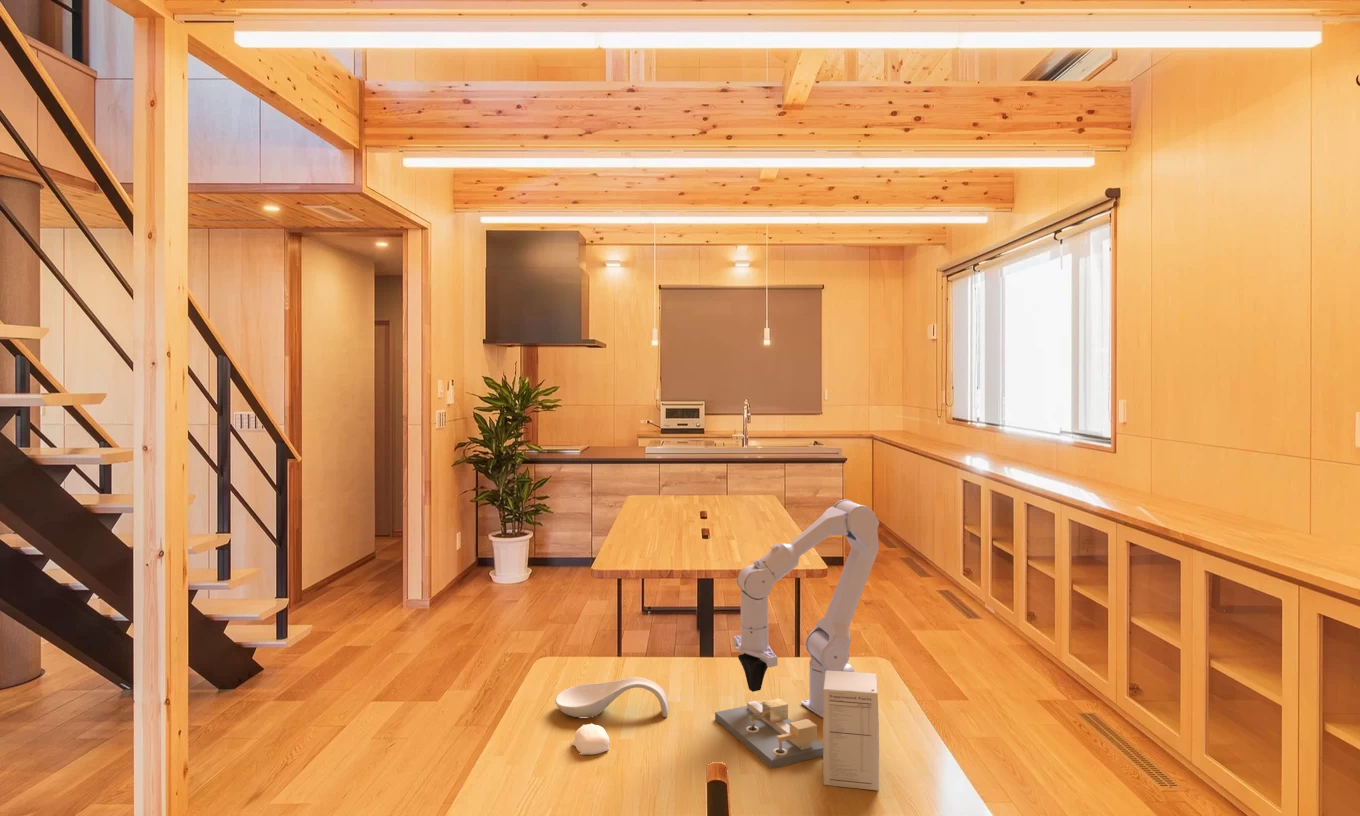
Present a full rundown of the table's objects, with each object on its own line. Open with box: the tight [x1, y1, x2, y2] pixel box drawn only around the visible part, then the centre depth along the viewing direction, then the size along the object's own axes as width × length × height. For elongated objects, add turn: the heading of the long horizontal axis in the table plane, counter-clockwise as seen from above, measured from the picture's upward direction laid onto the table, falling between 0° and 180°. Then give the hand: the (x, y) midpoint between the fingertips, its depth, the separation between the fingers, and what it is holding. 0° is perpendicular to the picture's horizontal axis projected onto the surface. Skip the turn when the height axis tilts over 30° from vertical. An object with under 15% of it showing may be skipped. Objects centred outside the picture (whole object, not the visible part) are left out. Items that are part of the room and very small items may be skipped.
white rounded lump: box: [571, 723, 611, 756], centre depth 144 cm, size 8×7×4 cm
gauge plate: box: [714, 700, 823, 769], centre depth 148 cm, size 12×22×6 cm, turn 25°
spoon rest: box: [554, 676, 670, 718], centre depth 159 cm, size 24×12×7 cm, turn 88°
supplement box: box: [822, 670, 880, 791], centre depth 133 cm, size 10×9×17 cm
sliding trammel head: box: [750, 698, 789, 730], centre depth 148 cm, size 8×3×4 cm, turn 115°
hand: (754, 689), depth 157 cm, fingers closed
